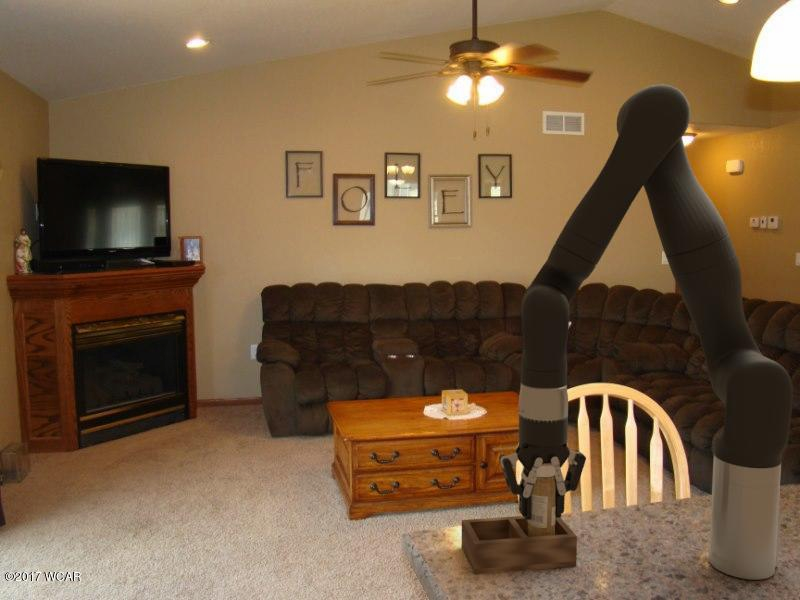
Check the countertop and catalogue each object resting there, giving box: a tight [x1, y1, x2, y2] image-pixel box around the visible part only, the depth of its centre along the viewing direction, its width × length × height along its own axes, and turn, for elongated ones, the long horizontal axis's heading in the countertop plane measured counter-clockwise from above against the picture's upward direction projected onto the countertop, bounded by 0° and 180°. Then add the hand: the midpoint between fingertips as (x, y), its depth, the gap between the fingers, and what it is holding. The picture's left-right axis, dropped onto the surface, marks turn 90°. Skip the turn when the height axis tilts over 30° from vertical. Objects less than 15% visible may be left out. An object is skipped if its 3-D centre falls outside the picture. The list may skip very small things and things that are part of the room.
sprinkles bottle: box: [527, 463, 557, 537], centre depth 112 cm, size 5×5×14 cm
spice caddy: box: [461, 515, 578, 575], centre depth 112 cm, size 16×9×5 cm, turn 98°
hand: (541, 516), depth 112 cm, fingers closed on sprinkles bottle, 4 cm apart
